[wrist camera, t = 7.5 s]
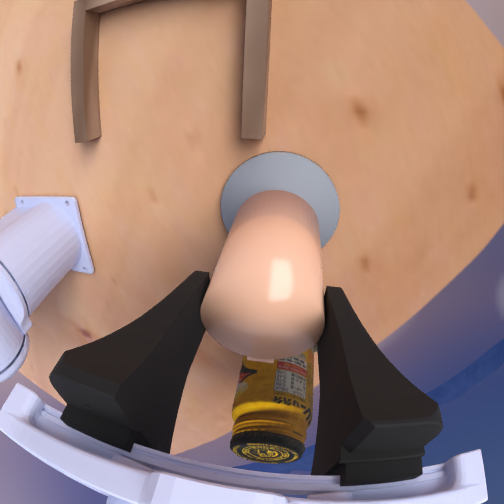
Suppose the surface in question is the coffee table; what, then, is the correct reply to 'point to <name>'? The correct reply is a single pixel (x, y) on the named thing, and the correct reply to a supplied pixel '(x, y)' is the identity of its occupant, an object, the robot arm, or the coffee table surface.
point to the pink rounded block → (268, 280)
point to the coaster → (283, 187)
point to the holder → (86, 67)
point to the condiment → (273, 408)
